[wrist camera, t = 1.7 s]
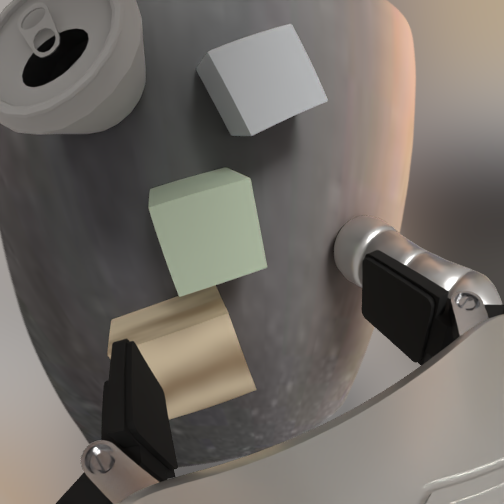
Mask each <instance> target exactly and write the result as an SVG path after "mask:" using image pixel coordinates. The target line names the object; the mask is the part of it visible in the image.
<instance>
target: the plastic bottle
mask: <svg viewBox="0 0 504 504" xmlns="http://www.w3.org/2000/svg"><path fill="white" fill-rule="evenodd" d="M375 250H380V251H381V252H383V253H385V254H387V255H389V256H390V257H392V258H394V259H396V260H397V261H399V262H401V263H402V264H404V265H406V266H408V267H409V268H411V269H413V270H414V271H416V272H418V273H419V274H421V275H423V276H424V277H426V278H428V279H429V280H431V281H433V282H434V283H436V284H438V285H439V286H441V287H442V288H444V289H446V290H447V291H449V294H448V298H449V299H451V297H452V295H453V294H454V293H455V292H458V291H463V290H464V291H470V292H473V293H475V294H477V295H478V296H479V297H481V299H482V301H483V303H484V304H490V305H502V302H501V299H500V297H499V294H498V293H497V290H496V288H495V286H494V285H493V284H492V282H491V281H490V280H489V279H488V278H487V277H486V276H485V275H483V274H481V273H479V272H477V271H473V270H471V269H469V268H466V267H464V266H461V265H458V264H456V263H453V262H450V261H447V260H445V259H443V258H441V257H439V256H437V255H435V254H433V253H430V252H428V251H427V250H425V249H422V248H420V247H419V246H417V245H416V244H414V243H413V242H411V241H410V240H408V239H407V238H405V237H404V236H402V235H401V234H399V233H398V232H397V231H396V230H395V229H394V228H393V227H392V226H391V225H389V224H388V223H386V222H385V221H384V220H382V219H380V218H377V217H372V216H367V215H363V216H359V217H356V218H354V219H352V220H350V221H349V222H347V223H346V224H345V225H344V226H343V227H342V228H341V230H340V232H339V233H338V235H337V237H336V240H335V244H334V259H335V263H336V266H337V268H338V269H339V270H340V272H341V273H342V274H343V275H344V277H345V278H346V279H347V280H349V281H350V282H352V283H354V284H355V285H357V286H359V287H361V288H362V261H363V259H364V258H365V255H366V254H368V253H371V252H373V251H375Z"/></svg>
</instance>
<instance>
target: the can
mask: <svg viewBox="0 0 504 504" xmlns="http://www.w3.org/2000/svg"><path fill="white" fill-rule="evenodd" d="M145 83H146V65H145V54H144V42H143V28H142V17H141V14H140V11H139V8H138V5H137V2H136V0H13V1H12V2H11V3H10V4H9V5H8V6H7V7H5V9H4V10H3V11H2V12H1V14H0V123H1V124H2V125H4V126H6V127H8V128H9V129H11V130H13V131H15V132H17V133H28V134H38V135H40V134H91V133H96V132H102V131H105V130H107V129H109V128H111V127H113V126H115V125H117V124H119V123H120V122H121V121H122V120H123V119H124V118H125V117H126V116H128V115H129V114H130V113H131V112H132V110H133V109H134V107H135V106H136V104H137V103H138V101H139V100H140V98H141V95H142V92H143V89H144V86H145Z"/></svg>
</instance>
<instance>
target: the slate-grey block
mask: <svg viewBox="0 0 504 504" xmlns="http://www.w3.org/2000/svg"><path fill="white" fill-rule="evenodd" d="M196 71H197V73H198V74H199V76H200V78H201V80H202V82H203V84H204V85H205V87H206V89H207V91H208V93H209V95H210V97H211V98H212V100H213V102H214V104H215V106H216V108H217V110H218V112H219V113H220V115H221V117H222V119H223V121H224V123H225V125H226V127H227V129H228V131H229V133H230V134H231V136H253V135H255V134H257V133H259V132H261V131H263V130H265V129H267V128H269V127H271V126H273V125H275V124H277V123H280V122H282V121H284V120H286V119H288V118H290V117H292V116H294V115H297V114H299V113H301V112H303V111H306V110H308V109H310V108H312V107H315V106H317V105H319V104H322V103H324V102H326V101H328V99H327V97H326V95H325V92H324V90H323V88H322V85H321V83H320V81H319V78H318V76H317V74H316V72H315V70H314V68H313V65H312V63H311V61H310V59H309V57H308V55H307V53H306V51H305V49H304V47H303V45H302V43H301V41H300V39H299V37H298V35H297V33H296V31H295V29H294V28H293V26H292V24H288V25H284V26H280V27H277V28H273V29H270V30H266V31H263V32H260V33H257V34H254V35H251V36H248V37H245V38H242V39H239V40H236V41H233V42H231V43H228V44H225V45H223V46H220V47H218V48H215V49H213V50H210V51H208V52H207V53H206V54H205V56H204V57H203V59H202V60H201V62H200V63H199V65H198V66H197V68H196Z"/></svg>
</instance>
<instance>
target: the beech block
mask: <svg viewBox="0 0 504 504" xmlns="http://www.w3.org/2000/svg"><path fill="white" fill-rule="evenodd" d="M123 339H128V340H129V341H134V342H135V343H136V345H137V347H138V349H139V350H140V352H141V354H142V356H143V357H144V359H145V361H146V362H147V364H148V366H149V367H150V369H151V371H152V372H153V374H154V376H155V377H156V379H157V380H158V382H159V384H160V385H161V387H162V389H163V391H164V394H165V399H166V406H167V412H168V418H169V419H173V418H176V417H179V416H183V415H186V414H189V413H193V412H196V411H199V410H202V409H205V408H208V407H211V406H214V405H217V404H220V403H223V402H225V401H228V400H231V399H234V398H236V397H239V396H242V395H244V394H247V393H249V392H252V391H255V390H256V387H255V384H254V382H253V379H252V377H251V374H250V371H249V369H248V366H247V363H246V361H245V358H244V355H243V352H242V350H241V347H240V344H239V341H238V339H237V336H236V333H235V330H234V328H233V325H232V322H231V319H230V316H229V313H228V311H227V309H226V307H225V305H224V302H223V300H222V298H221V296H220V294H219V292H218V289H217V287H216V285H215V286H212V287H209V288H206V289H202V290H199V291H196V292H193V293H190V294H187V295H184V296H181V297H179V296H177V297H174V298H171V299H169V300H166V301H163V302H160V303H157V304H155V305H152V306H149V307H146V308H143V309H140V310H138V311H135V312H132V313H129V314H126V315H123V316H120V317H118V318H115V319H112V320H111V326H110V334H109V343H108V352H107V355H108V356H109V358H110V359H111V351H112V344H113V342H116V341H120V340H123Z"/></svg>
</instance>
